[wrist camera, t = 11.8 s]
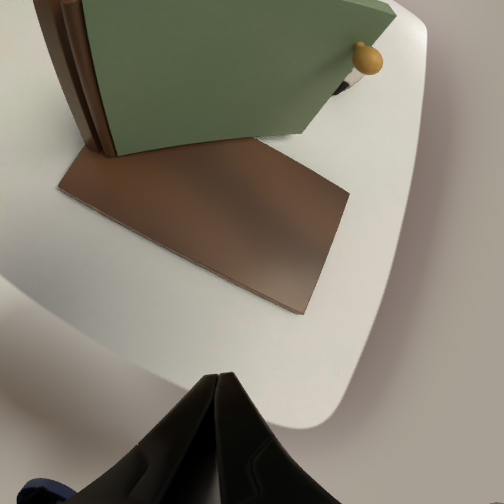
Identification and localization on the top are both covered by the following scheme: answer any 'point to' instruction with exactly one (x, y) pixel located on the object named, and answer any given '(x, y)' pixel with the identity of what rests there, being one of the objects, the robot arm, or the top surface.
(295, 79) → the door
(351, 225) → the top surface
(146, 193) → the door frame
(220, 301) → the top surface
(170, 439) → the robot arm
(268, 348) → the top surface
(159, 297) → the top surface
